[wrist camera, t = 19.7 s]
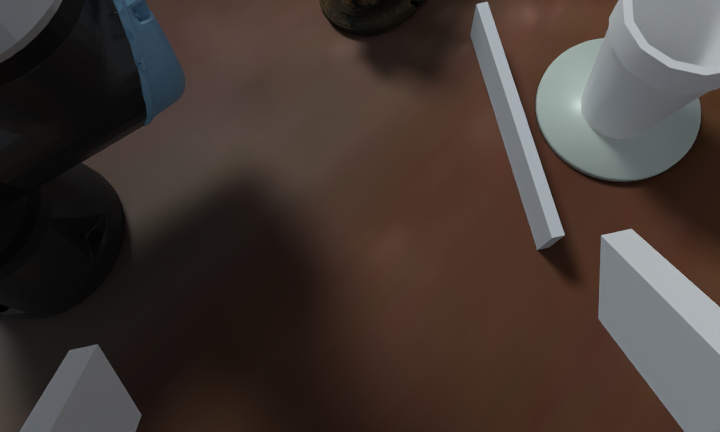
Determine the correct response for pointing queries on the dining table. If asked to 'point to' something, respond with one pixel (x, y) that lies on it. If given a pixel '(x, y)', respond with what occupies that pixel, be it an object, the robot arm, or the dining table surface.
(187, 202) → the dining table surface
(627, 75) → the foam cup
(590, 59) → the resting disc
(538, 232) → the acrylic wall
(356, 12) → the owl figurine
